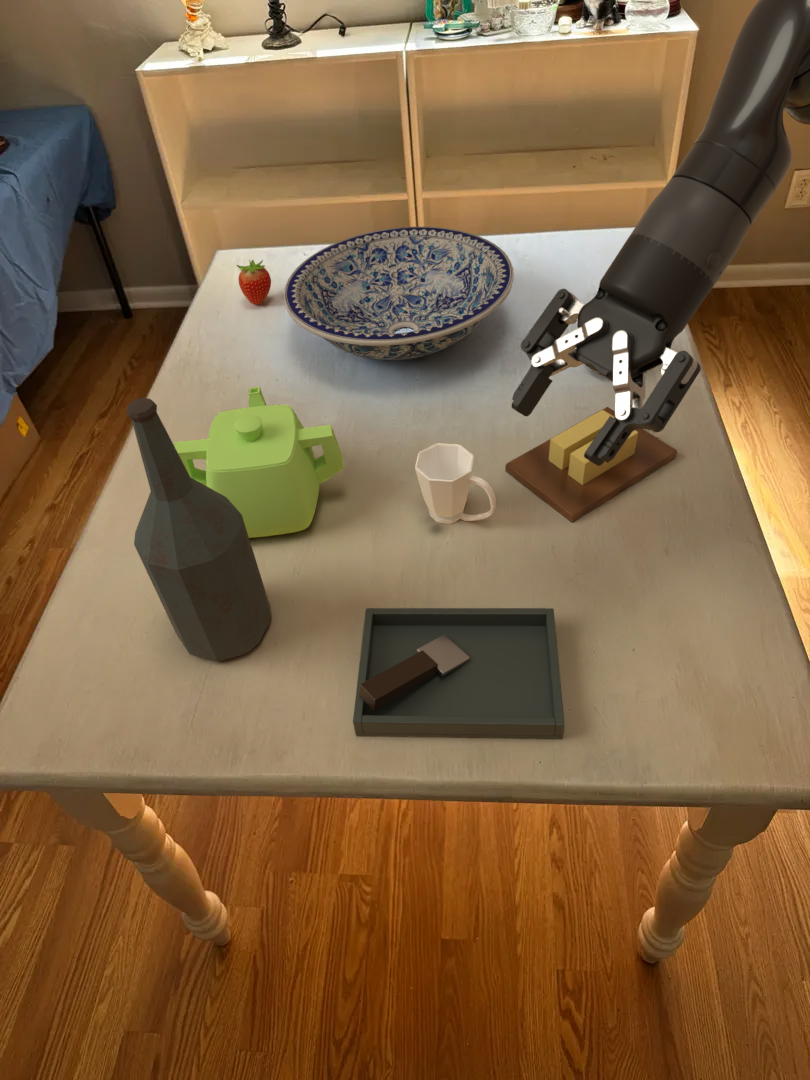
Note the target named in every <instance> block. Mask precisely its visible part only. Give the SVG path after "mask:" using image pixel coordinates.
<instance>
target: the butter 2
mask: <svg viewBox="0 0 810 1080" xmlns="http://www.w3.org/2000/svg"><path fill="white" fill-rule="evenodd" d="M637 437H638V432H637V431H636V430H634V431H633V432H632V433H631V434H630V435H629V437H628V438H627V440H626V441H625V443H624V444H623V445H622V447H621V448H620V450H619V451H618V452H617V454H616V455H615V457H614V458H613V459H612V460H611V461H609V462H608V463H607V462H604V463H603V464H602V465H600V466H598V465H596V464H594V463H592V462H590V461H589V460H587V459H586V458H585V457H584V454H585V452H586V450H587V449H588V447H589V446H590V444H591V443H592V441H591V442H589V443H587V444H586V445H584V446H582V447H581V448H579V449H577V450H575V451H574V452H572V453H570V462H569V471H568V475H569V476H570V477H572V478H573V479H575V480H576V481H577V482H579V483H580V484H581V485H584V484H585V483H587V482H589V481H590V480H592V479H594V478H595V477H597V476H599V475H600V474H602V473H604V472H605V471H607V470H608V469H610V468H612V467H613V466H615V465H617V464H618V463H620V462H622V461H623V460H625V459H627V458H628V457H630V456H632V455H633V454H634V453H635V448H636V442H637Z"/></svg>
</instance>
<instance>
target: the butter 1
mask: <svg viewBox="0 0 810 1080" xmlns="http://www.w3.org/2000/svg"><path fill="white" fill-rule="evenodd" d="M597 412H598V413H597ZM597 412H596V414H595V413H594V414H592V415H590V416H591V417H590V416H588V417H589V418H588V417H587V418H585V419H583V420H584V421H583V420H581V421H582V422H581V421H580V423H579V422H578V423H576V424H574V425H575V426H574V425H572V426H573V427H572V426H570V427H569V428H567V429H568V430H567V429H565V430H566V431H565V430H564V432H563V431H562V432H560V433H561V434H560V433H559V435H558V434H556V435H557V436H556V435H555V436H553V437H551V438H552V439H551V438H549V439H550V450H549V461H550V462H551V463H553V464H554V465H556V466H557V467H558V468H560V469H561V470H564V469H565V468H567V467H569V462H570V453H572V452H574V451H575V450H577V449H579V448H581V447H582V446H584V445H586V444H587V443H589V442H591V441H593V440H594V438H595V437H596V436H597V434H598V433H599V431H600V430H601V428H602V427H603V425H604V424H605V422H606V421H607V420H608V418H609V417H610V416H611V417H613V418H615V417H614V416H612V415H610V414H609V413H607V412H606V411H604V410H602V409H601V410H599V411H597Z"/></svg>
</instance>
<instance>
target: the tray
mask: <svg viewBox="0 0 810 1080" xmlns="http://www.w3.org/2000/svg"><path fill="white" fill-rule="evenodd" d="M555 618H556V617H555V610H554V608H551V607H549V608H548V607H456V608H455V607H365V612H364V622H363V630H362V638H361V647H360V656H359V664H358V665H359V666H358V673H357V683H356V694H355V701H354V710H353V717H352V724H353V728H354V732H355V736H356V737H401V738H403V737H404V738H406V737H407V738H408V737H409V738H412V737H413V738H471V739H472V738H478V739H479V738H480V739H481V738H482V739H537V740H538V739H540V740H544V739H545V740H546V739H547V740H563V738H564V730H565V716H564V715H565V714H564V704H563V694H562V684H561V682H562V681H561V673H560V663H559V653H558V652H559V649H558V640H557V629H556V621H555V620H556V619H555ZM442 635H445V636H447V637H448V638H449V639H450V640H451V641H452V642H453V643H454V644H456V645H457V646H458V647H459V648H460V649H461V650H462V651H463V652H465V653H466V654H467V655H468V656H469V657H470V660H469V661H468V662H466V663H464V664H462V665H461V666H459V667H457V668H456V669H454V670H452V671H450V672H449V673H447V674H445V675H444V676H442V675H441V674H440V673H439V672H438V671H437V673H436V675H435V676H434V677H432V678H430V679H428V680H427V681H425V682H423V683H422V684H420V685H418V686H416V687H415V688H413V689H411V690H409V691H408V692H406V693H404V694H402V695H401V696H399V697H397V698H395V699H394V700H392V701H390V702H389V703H387V704H385V705H383V706H382V707H380V708H378V709H376V710H375V711H373V710H372V709H371V708H370V706H369V705H368V704H367V703H366V702H365V701H364V700H363V699H362V698H361V697H360V696H359V688H360V684H361V683H363V682H365V681H367V680H369V679H371V678H372V677H374V676H376V675H378V674H380V673H382V672H383V671H385V670H387V669H389V668H391V667H393V666H394V665H396V664H398V663H400V662H402V661H404V660H405V659H407V658H409V657H411V656H413V655H415V654H416V653H418V652H417V649H418V648H420V647H422V646H424V645H426V644H427V643H429V642H431V641H433V640H435V639H437V638H439V637H440V636H442Z"/></svg>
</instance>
